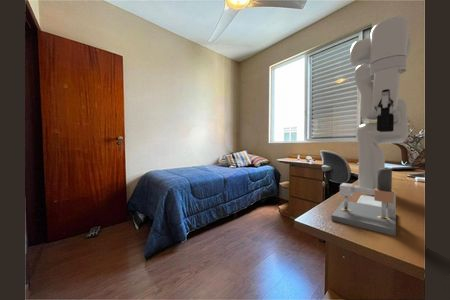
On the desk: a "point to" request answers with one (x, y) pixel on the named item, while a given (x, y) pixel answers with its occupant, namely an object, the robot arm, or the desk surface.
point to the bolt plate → (365, 217)
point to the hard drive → (369, 201)
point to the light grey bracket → (350, 189)
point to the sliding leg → (384, 189)
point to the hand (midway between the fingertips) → (385, 131)
